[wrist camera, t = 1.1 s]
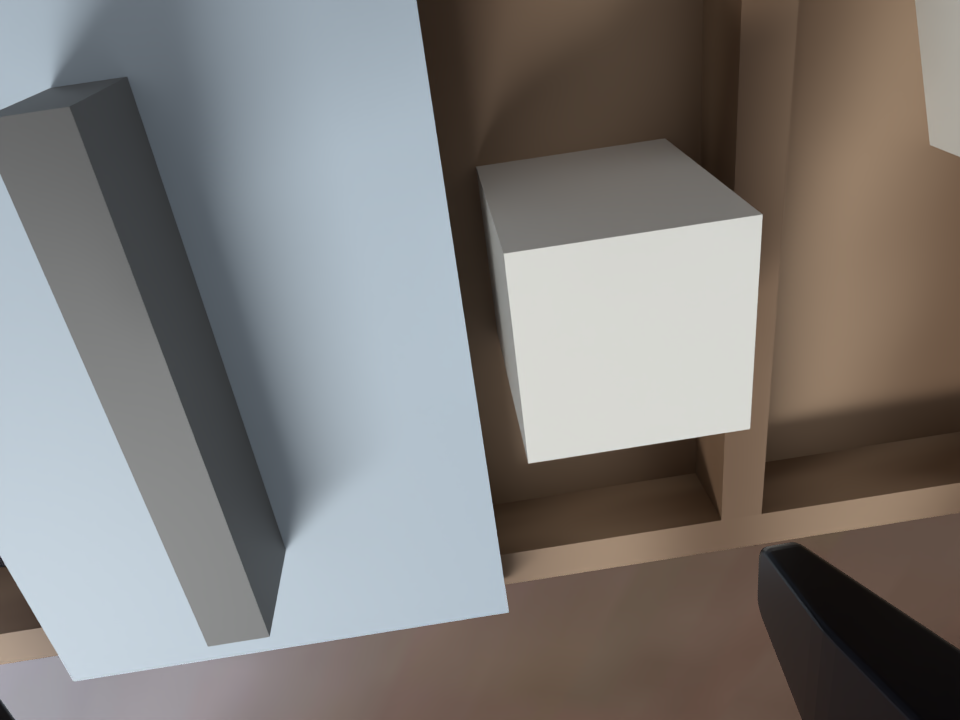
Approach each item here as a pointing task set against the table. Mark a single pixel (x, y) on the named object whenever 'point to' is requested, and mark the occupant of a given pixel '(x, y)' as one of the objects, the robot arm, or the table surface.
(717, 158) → the bins
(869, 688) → the robot arm
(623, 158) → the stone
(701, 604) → the table surface
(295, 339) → the lid
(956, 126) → the pale grey cube
